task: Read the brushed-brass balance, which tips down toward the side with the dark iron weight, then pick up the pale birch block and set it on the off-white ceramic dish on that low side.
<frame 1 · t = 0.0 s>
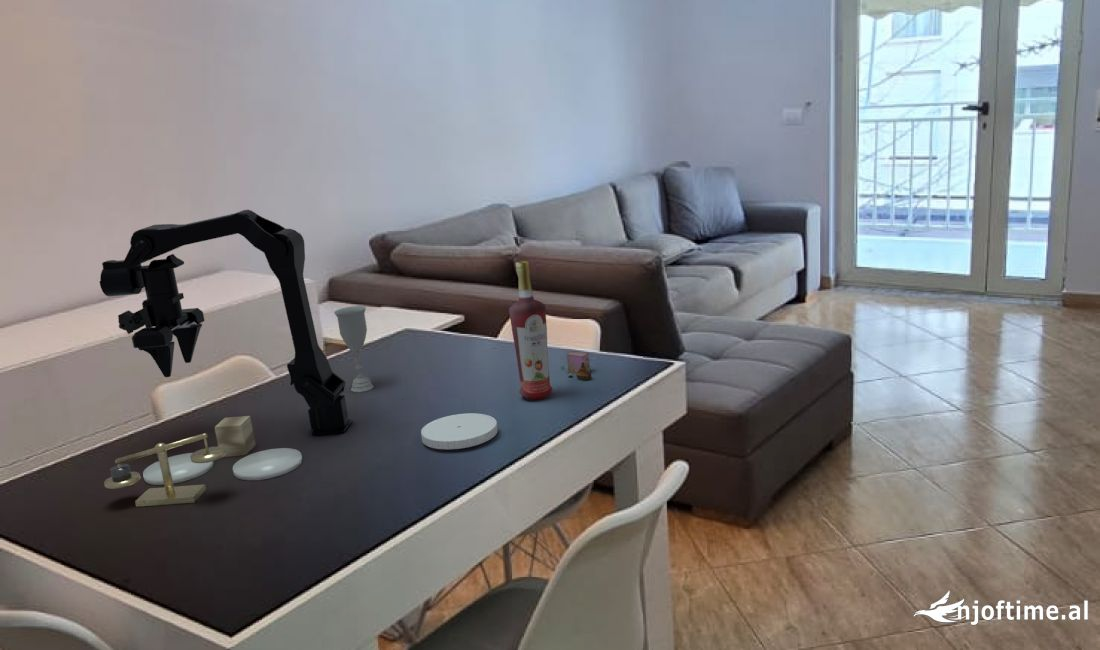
hand: (178, 369, 181), 15 cm above the table, fingers open, 9 cm apart
liquor: (536, 397, 190), on the table
dish high side: (268, 466, 167), on the table
chalice: (362, 388, 207), on the table
balance: (171, 498, 157), on the table
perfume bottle: (590, 375, 202), on the table
plastic lid: (460, 440, 172), on the table
block: (238, 451, 176), on the table
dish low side: (179, 470, 169), on the table
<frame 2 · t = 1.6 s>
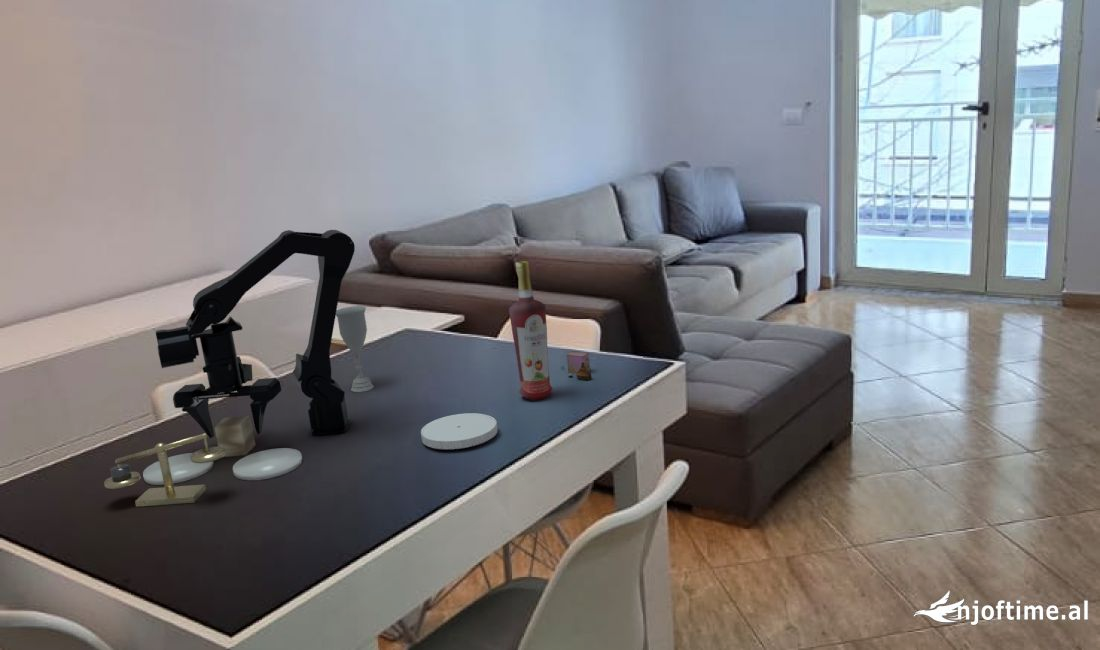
hand: (235, 435, 176), 3 cm above the table, fingers open, 9 cm apart
nothing on the table moved.
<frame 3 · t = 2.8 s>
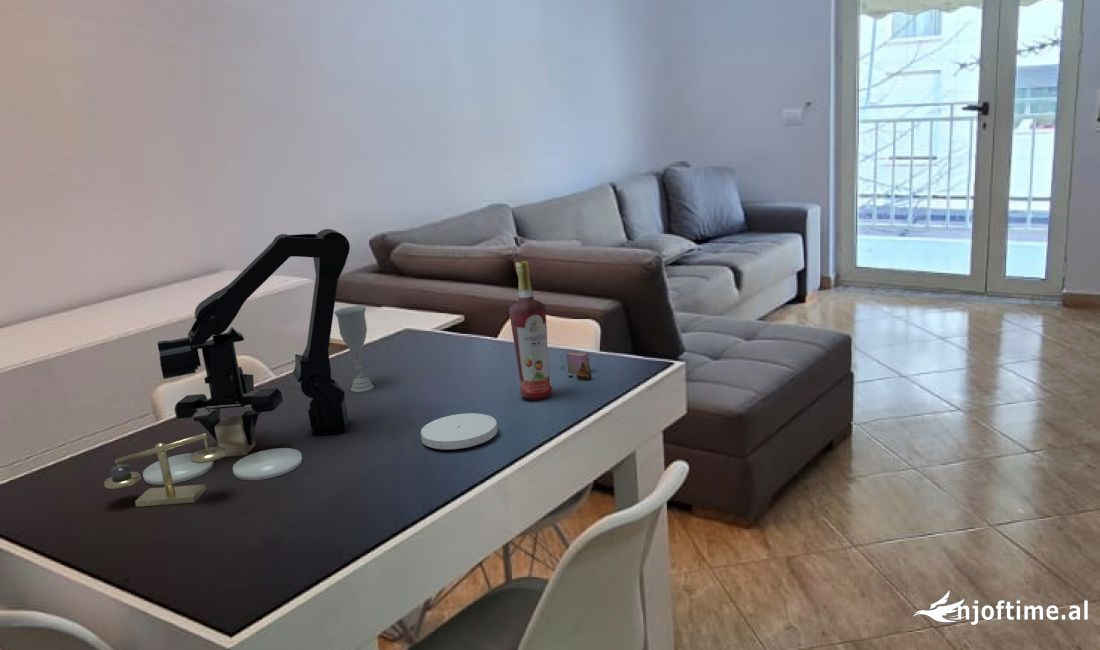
hand: (237, 445, 176), 1 cm above the table, fingers closed on block, 5 cm apart
block: (238, 450, 176), on the table, touching gripper
everything else where it was.
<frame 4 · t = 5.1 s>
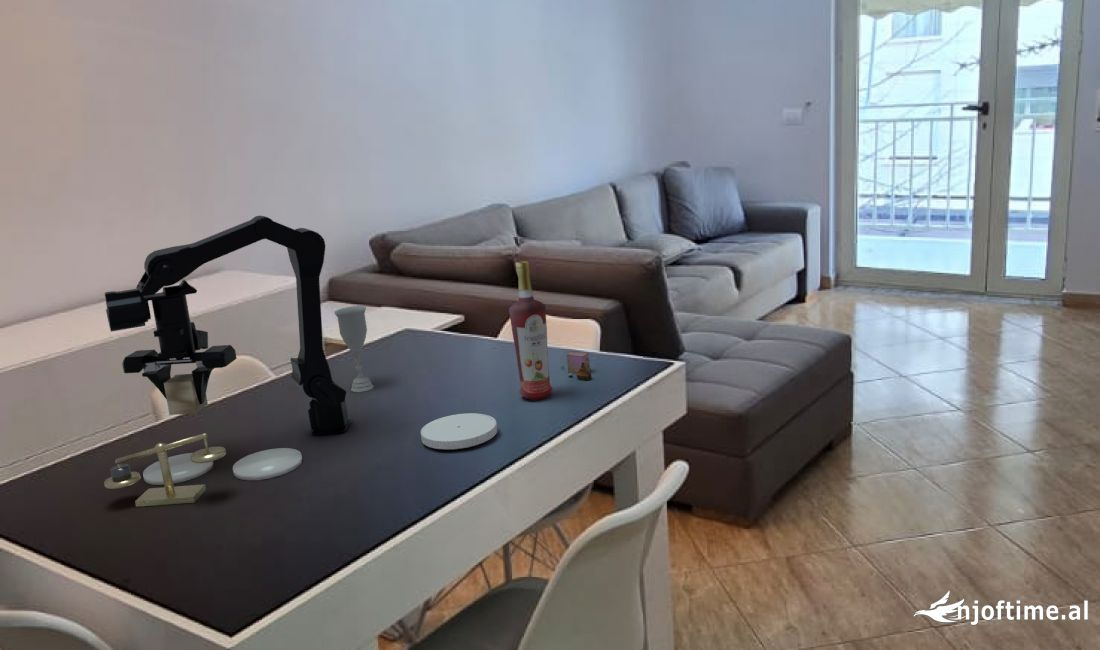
hand: (187, 404, 169), 12 cm above the table, fingers closed on block, 5 cm apart
block: (188, 409, 169), point 11 cm above the table, touching gripper
everything else where it was.
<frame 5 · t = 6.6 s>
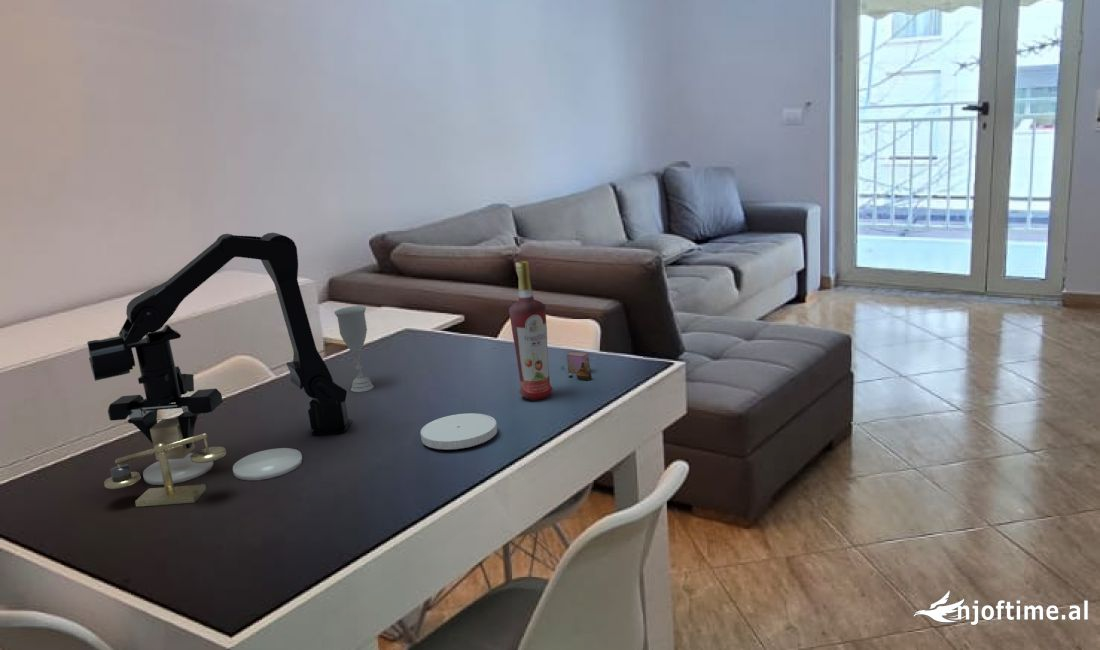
hand: (175, 448, 168), 4 cm above the table, fingers closed on block, 5 cm apart
block: (176, 453, 168), point 3 cm above the table, touching gripper
everything else where it was.
when the fingers open (3 cm above the table, at t = 7.6 s): block drops 1 cm, resting on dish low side.
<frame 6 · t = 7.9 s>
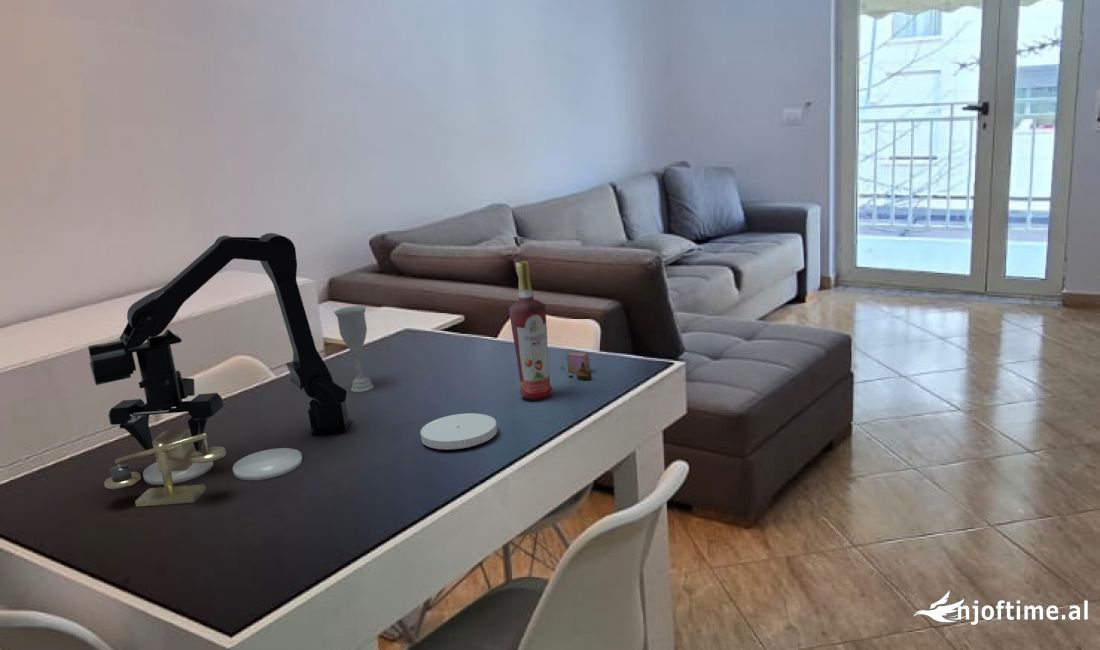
hand: (175, 453, 168), 3 cm above the table, fingers open, 8 cm apart
block: (178, 465, 169), point 1 cm above the table, touching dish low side
everything else where it was.
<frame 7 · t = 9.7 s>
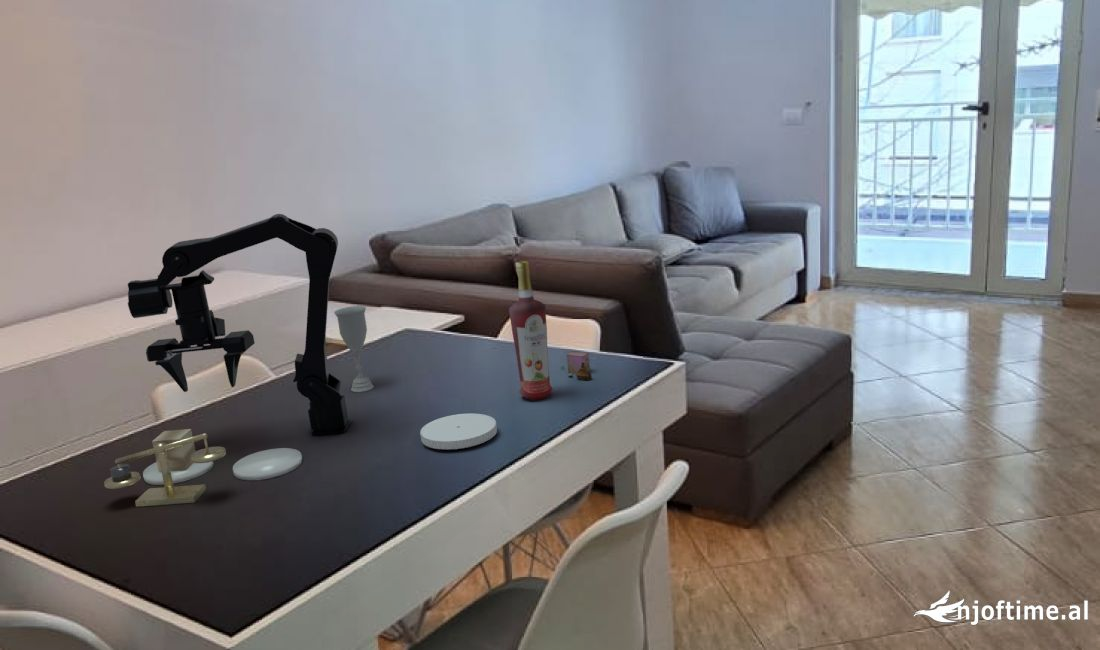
hand: (209, 388, 177), 12 cm above the table, fingers open, 9 cm apart
nothing on the table moved.
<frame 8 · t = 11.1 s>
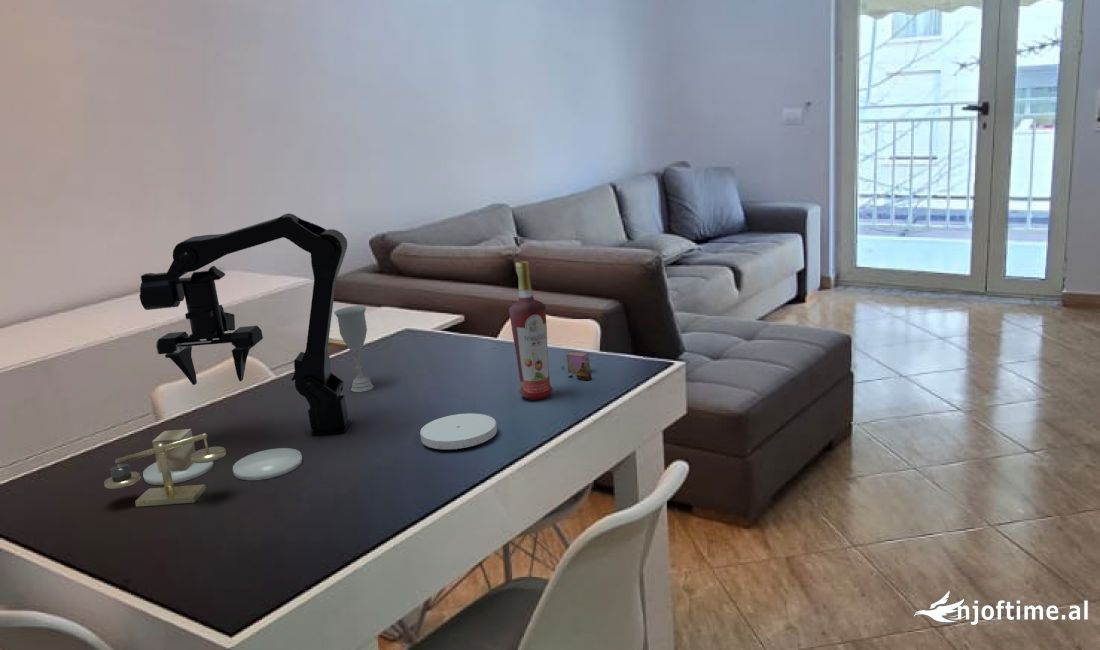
hand: (218, 382, 179), 12 cm above the table, fingers open, 9 cm apart
nothing on the table moved.
at the end: block inside the target area on the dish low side (0.0 cm from its centre), point 1.0 cm above the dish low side's base; block tilted 0°; the gripper is holding nothing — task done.
